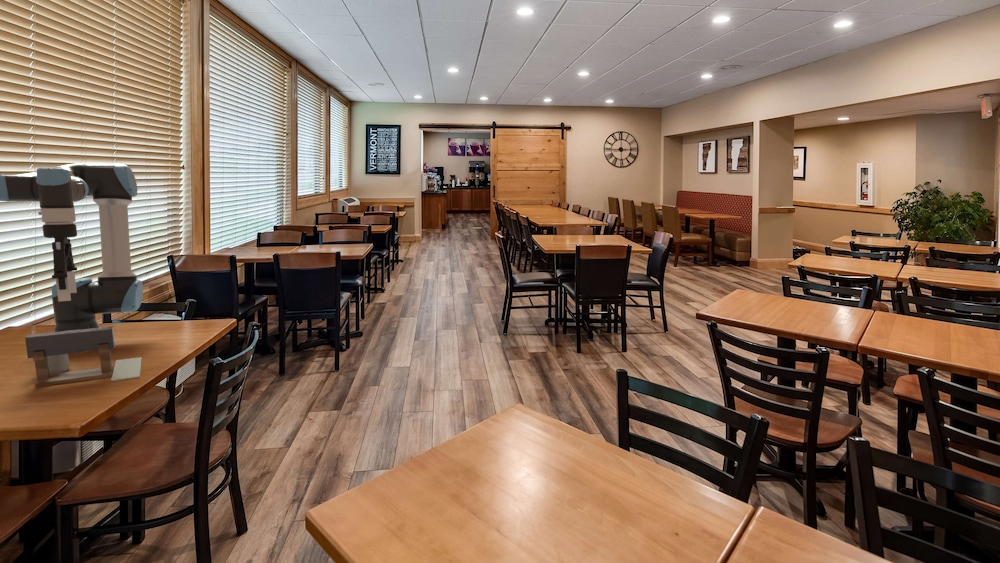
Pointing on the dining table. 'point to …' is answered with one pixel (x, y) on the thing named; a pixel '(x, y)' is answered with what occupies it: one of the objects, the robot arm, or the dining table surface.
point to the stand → (72, 376)
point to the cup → (58, 363)
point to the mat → (127, 369)
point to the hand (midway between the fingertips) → (68, 296)
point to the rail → (69, 341)
